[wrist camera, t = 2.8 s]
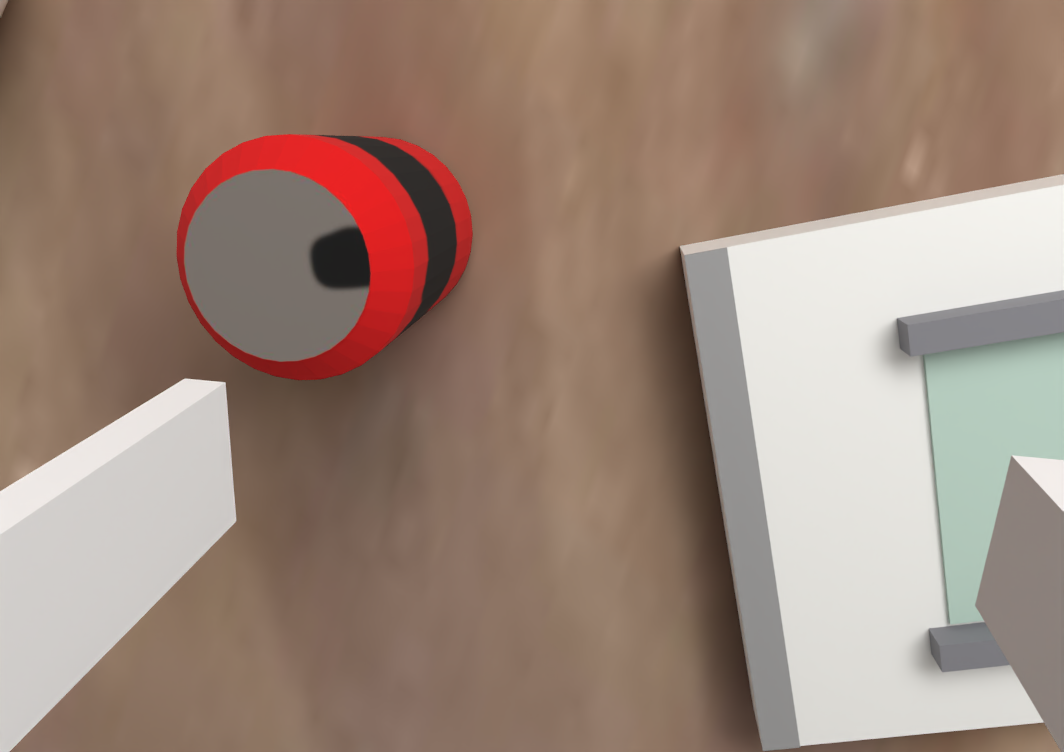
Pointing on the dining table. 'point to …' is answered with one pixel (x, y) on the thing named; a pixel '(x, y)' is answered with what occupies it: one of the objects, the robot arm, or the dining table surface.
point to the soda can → (320, 248)
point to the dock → (878, 449)
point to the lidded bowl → (2, 6)
